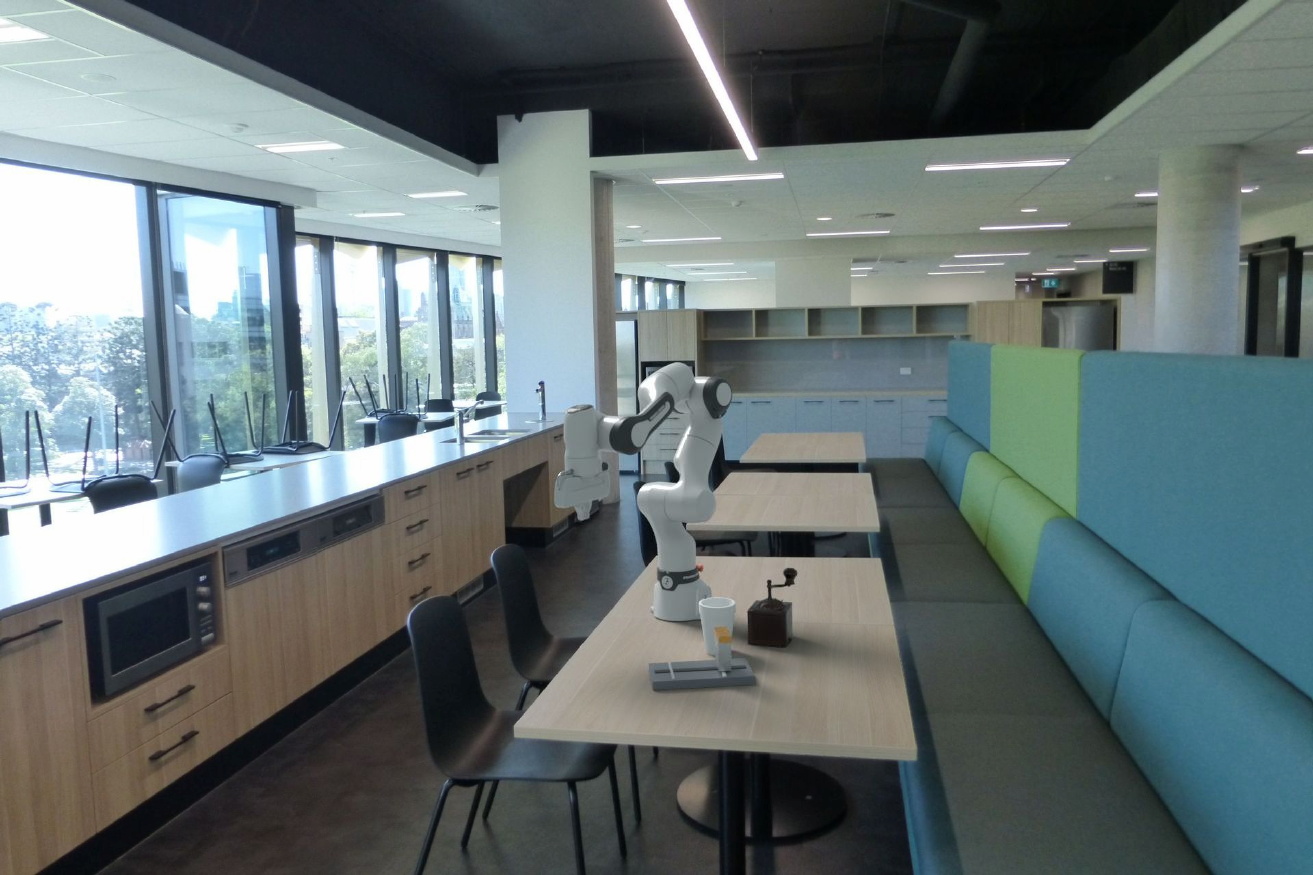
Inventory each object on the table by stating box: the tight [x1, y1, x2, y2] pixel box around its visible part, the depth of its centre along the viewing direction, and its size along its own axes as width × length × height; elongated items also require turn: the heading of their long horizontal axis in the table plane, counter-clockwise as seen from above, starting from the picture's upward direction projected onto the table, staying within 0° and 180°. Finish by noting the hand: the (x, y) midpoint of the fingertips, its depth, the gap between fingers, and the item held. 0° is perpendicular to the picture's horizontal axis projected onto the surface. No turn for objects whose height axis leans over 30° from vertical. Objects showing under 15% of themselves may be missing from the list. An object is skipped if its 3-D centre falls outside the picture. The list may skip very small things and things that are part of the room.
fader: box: [714, 627, 732, 671], centre depth 216 cm, size 3×7×9 cm, turn 5°
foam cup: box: [699, 596, 737, 656], centre depth 233 cm, size 10×9×13 cm
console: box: [648, 657, 756, 691], centre depth 216 cm, size 24×12×2 cm, turn 95°
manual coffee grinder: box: [746, 567, 798, 648], centre depth 243 cm, size 16×11×18 cm
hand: (583, 519), depth 237 cm, fingers closed
